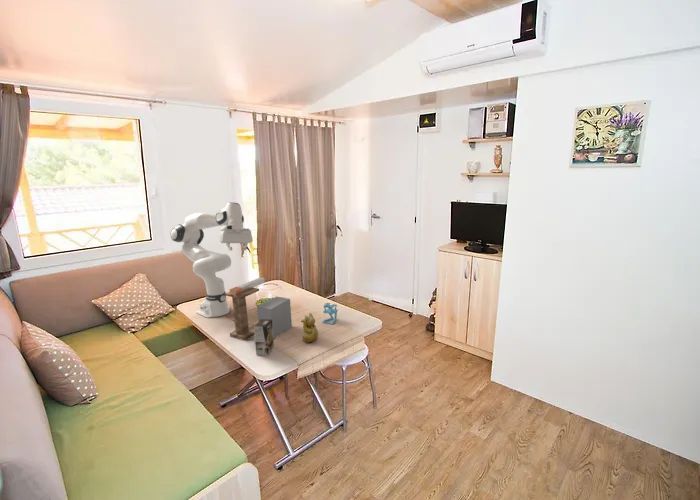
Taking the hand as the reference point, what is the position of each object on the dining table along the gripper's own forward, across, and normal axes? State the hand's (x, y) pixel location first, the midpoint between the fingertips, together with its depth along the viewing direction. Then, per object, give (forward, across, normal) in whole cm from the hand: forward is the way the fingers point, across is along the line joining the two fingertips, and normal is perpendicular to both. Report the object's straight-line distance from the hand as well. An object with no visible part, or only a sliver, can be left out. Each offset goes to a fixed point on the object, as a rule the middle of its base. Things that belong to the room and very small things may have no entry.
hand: (237, 250), depth 216 cm
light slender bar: (+24, +2, +13) cm, 27 cm away
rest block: (+51, -10, +18) cm, 55 cm away
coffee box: (+58, +7, +31) cm, 66 cm away
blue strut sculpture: (+50, -40, +33) cm, 72 cm away
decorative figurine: (+57, -16, +41) cm, 72 cm away
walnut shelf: (+50, +3, +6) cm, 50 cm away
